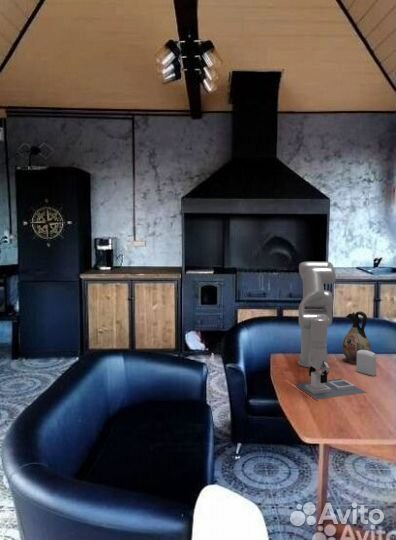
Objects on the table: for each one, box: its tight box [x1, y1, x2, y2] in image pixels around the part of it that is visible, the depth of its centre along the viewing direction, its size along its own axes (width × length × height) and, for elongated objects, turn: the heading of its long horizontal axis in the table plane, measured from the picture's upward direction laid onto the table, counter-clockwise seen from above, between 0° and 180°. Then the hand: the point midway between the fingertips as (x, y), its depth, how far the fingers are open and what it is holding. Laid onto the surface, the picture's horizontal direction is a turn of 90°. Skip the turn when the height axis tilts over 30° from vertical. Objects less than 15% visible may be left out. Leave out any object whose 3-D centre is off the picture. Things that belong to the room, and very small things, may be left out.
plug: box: [310, 370, 325, 390], centre depth 204 cm, size 4×6×8 cm
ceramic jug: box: [341, 311, 372, 364], centre depth 248 cm, size 17×15×30 cm
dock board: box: [294, 378, 367, 402], centre depth 206 cm, size 20×26×2 cm
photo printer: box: [355, 350, 377, 377], centre depth 229 cm, size 10×4×12 cm, turn 39°
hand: (317, 379), depth 204 cm, fingers open, 9 cm apart
